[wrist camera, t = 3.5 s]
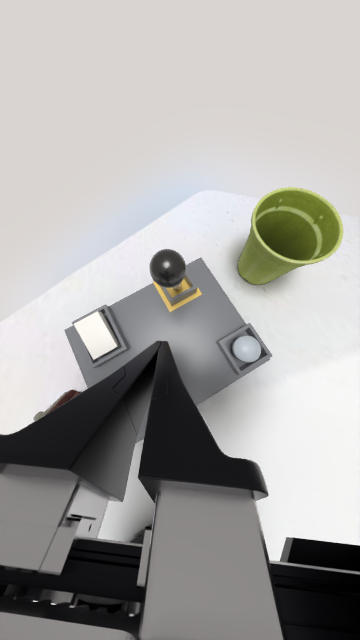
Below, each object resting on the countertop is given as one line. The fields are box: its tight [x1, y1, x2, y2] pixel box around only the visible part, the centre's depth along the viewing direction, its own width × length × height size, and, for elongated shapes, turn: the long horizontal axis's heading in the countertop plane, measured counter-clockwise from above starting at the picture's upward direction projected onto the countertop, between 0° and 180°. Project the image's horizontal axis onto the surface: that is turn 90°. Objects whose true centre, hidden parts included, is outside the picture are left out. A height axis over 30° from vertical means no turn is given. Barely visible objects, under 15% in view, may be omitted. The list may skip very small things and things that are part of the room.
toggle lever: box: [150, 249, 186, 290], centre depth 14 cm, size 3×3×11 cm
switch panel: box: [65, 258, 272, 443], centre depth 19 cm, size 17×22×4 cm
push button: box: [231, 336, 261, 362], centre depth 17 cm, size 3×3×1 cm
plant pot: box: [238, 187, 343, 285], centre depth 19 cm, size 9×9×9 cm
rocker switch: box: [74, 311, 120, 360], centre depth 18 cm, size 5×3×1 cm, turn 30°
